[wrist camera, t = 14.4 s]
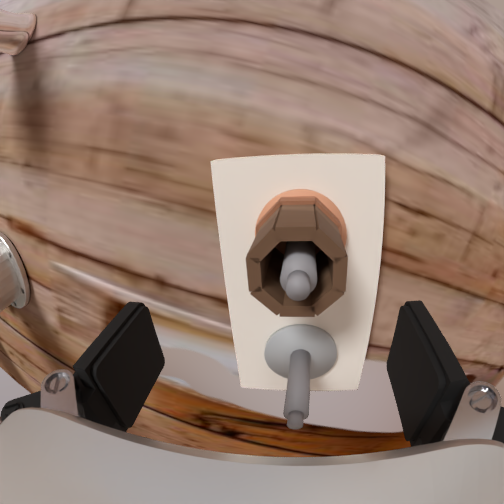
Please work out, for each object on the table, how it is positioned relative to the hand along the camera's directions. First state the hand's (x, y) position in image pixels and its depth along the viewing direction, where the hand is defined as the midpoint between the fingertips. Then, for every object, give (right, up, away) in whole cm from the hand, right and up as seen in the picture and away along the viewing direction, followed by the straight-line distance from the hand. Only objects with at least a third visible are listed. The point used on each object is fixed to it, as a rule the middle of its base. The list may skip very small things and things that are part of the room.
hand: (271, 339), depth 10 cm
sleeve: (+3, +4, +10) cm, 11 cm away
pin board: (+3, 0, +14) cm, 14 cm away
